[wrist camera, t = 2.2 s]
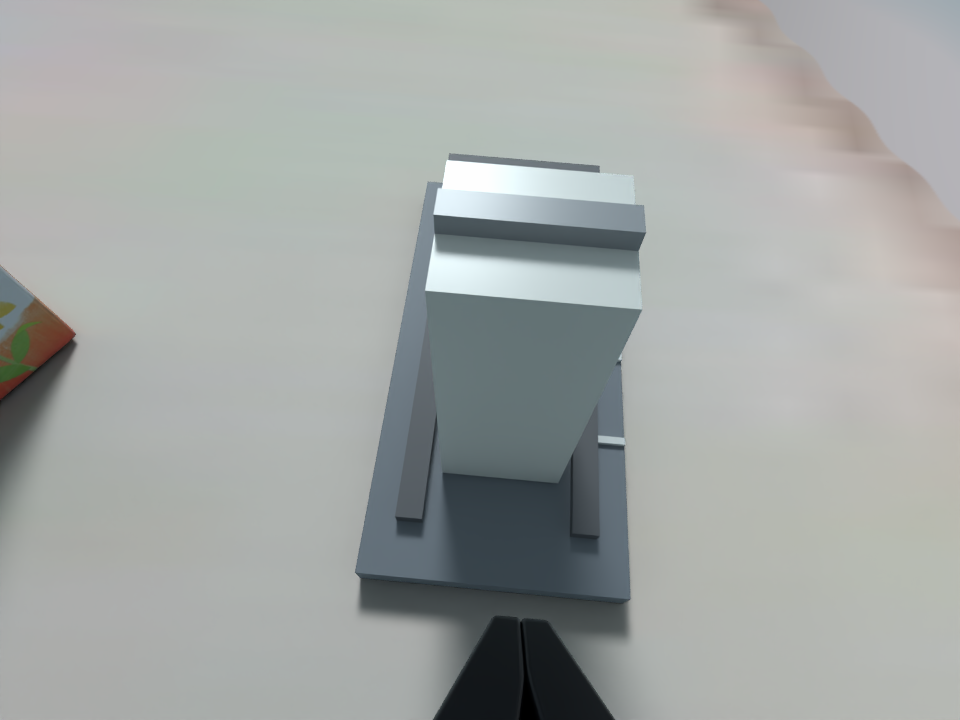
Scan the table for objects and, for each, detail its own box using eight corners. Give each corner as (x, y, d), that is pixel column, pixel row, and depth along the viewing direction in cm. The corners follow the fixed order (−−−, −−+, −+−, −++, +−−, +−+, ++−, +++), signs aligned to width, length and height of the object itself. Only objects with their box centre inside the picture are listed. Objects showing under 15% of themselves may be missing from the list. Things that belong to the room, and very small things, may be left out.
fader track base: (622, 603, 21) (646, 591, 19) (360, 577, 22) (345, 562, 19) (608, 213, 31) (623, 167, 29) (428, 198, 32) (425, 151, 29)
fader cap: (558, 483, 22) (650, 292, 11) (442, 472, 22) (423, 272, 12) (559, 392, 24) (640, 155, 13) (453, 382, 24) (446, 139, 13)
